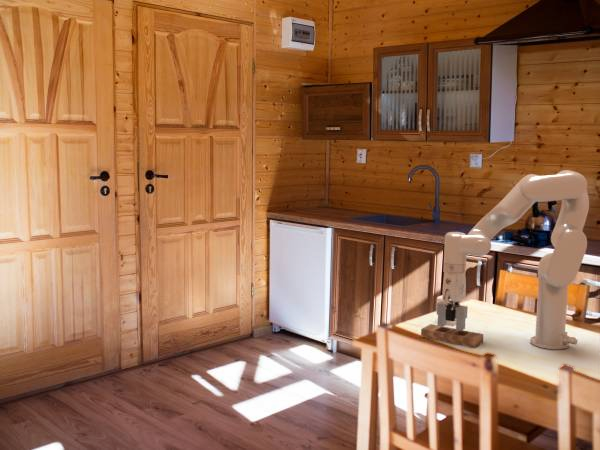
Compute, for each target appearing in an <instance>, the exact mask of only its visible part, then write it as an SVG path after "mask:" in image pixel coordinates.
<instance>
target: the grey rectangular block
mask: <svg viewBox="0 0 600 450" xmlns="http://www.w3.org/2000/svg"><path fill="white" fill-rule="evenodd" d="M436 305H437V313H436V315H437V323H436V325H437V326H442V327H446V326H447V325H446V321H447V320H445V316H446V309H445V305H444V302H439V303H437V302H436ZM451 305H452V304H451ZM454 310H455V318H457V321H456V325H455V329H456V330H461V331H462V330H465V329H466V320H467V318H468V305H467V306H465V305H461V304H460V305H456V304H454Z"/></svg>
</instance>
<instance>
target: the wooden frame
mask: <svg viewBox="0 0 600 450" xmlns="http://www.w3.org/2000/svg"><path fill="white" fill-rule="evenodd" d="M420 337H421V338H423V337H425V338H424V339H428V338H429V340H435V341H440V342H442V343H443V342H444V343H449V344H454V345H459V346H462V347H463V346H464V347H468V348H473V349H475V348H477V347H478V346H480V345H482V344H483V343H484V334H483V333H479V332H474V331H469V330H465V329H463V330H462V331H461V330H456V328H453V327H449V326H443V327H442V326H437V324H431V323H430V324H428V325H426V326H424V327H423V328H421V330H420Z"/></svg>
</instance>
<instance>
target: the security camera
mask: <svg viewBox="0 0 600 450" xmlns="http://www.w3.org/2000/svg"><path fill="white" fill-rule="evenodd" d="M449 300H450V301H451V299H449ZM439 302H444V300H443V298H442V295H440V296H439V295H438V296H437V297H436V306H435V307H436V309H435V313H436V314H437V303H439ZM456 321H457V319H455V320H454V321H448V320H447V321H446V325H445V326H447V325H448V326H451V327H453V326H456Z"/></svg>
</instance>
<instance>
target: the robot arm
mask: <svg viewBox="0 0 600 450" xmlns="http://www.w3.org/2000/svg"><path fill="white" fill-rule="evenodd" d="M587 190H588V182H587V179H586V177H585V176H584V175H583V174H581V173H579V172H577V171H573V170H569V169H564V170H561V171H558V173H556V174H550V175H547V174H546V175H539V174H534V173H529V174H527V175H525V176H524V177H522V178H521V179H520V180H519V181H518V182H517V184H515V185H514V186H513V187H512V189H511V190H510V191H509V192H508V193H507V194H506V195H505V196H504V197H503V199H502V200H501V201H499V203H498V204H496V205H495V206H494V207H493V208H492V209H491V210H490V211H489V212H487V213H486V214H485V215H484V216H483V217H482V218H481V219H480V220H479V221H478V222H477V223H476V224H475V226H473V228H472V229H470V231H469V232H468V233H467V234H466V233H464V232H461V231H460V232H459V231H449V232H446V233H445V235H444V250H443V251H444V253H443V271H442V272H444V274H443V275H444V276H443V281H442V282H443V283H442V298H443V300H444V305H445V309H446V316H445V320H448V321H454V320H455V319H457V318H455V310H454V304H456V305H461V300H464V299H465V298H466V295H467V290H466V289H467V287H466V286H467V282H466V281H467V280H466V279H467V276H466V270H467V269H466V268H467V255H469V256H470V255H471V256H476V257H482V256H483V257H484V256H486V255H488V253H490V251H491V249H492V243H491V240H492V239H493V238H494V237H495V236H496V235H497V234H498V233H499V232H500V231H501V230H503V229H505V228H506V227H508V226H511V225H513V224H515V223H516V222H518V221H519V220H520V219H521V218H522V217H523V216H524V215H525V213H526V212H527V211H528V210H530V208H531V207H532V206H534V204H535V203H539V202H540V203H541V202H542V203H543V202H554V201H561V207H560V209H559V214H558V217H557V220H556V223H555V226H554V228H553V230H552V233H551V236H550V241H551V244H552V246H553V247H554V248H553V249H554V250H553V251H552V253H547V254H545V255H544V256H542V257H541V259H540V260H539V263H538V267H537V301H536V302H537V304H536V316H535V317H536V320H535V322H536V323H535V334H534V336H532V337H530V341H529V342H530V344H531V345H532V346H535V347H538V348H542V349H545V348H546V350H565V349H567V348H569V347H570V344H571V345H575V346H577V345H578V342H579V341H578V339H577V338H576V337H574V336H573V337H572V336H569V335H568V332H569V331H566V324H567V322H566V321H567V311H568V310H567V308H568V306H567V305H568V296H569V295H568V292H569V290H568V289H569V288H568V286H570V285H571V284H573V283H574V281H575V280H576V278H577V275H578V273H579V271H580V268H581V265H582V263H583V260H584V257H585V254H586V252H587V248H588V247H587V246H588V239H587V236H586V234H585V233H584V231H583V230H584V227H585V224H586V220H587V217H588V213H589V209H590V197H589V194H588V193H589V192H588V191H587ZM449 299H451V301H450V300H449ZM451 304H452V305H451Z"/></svg>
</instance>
